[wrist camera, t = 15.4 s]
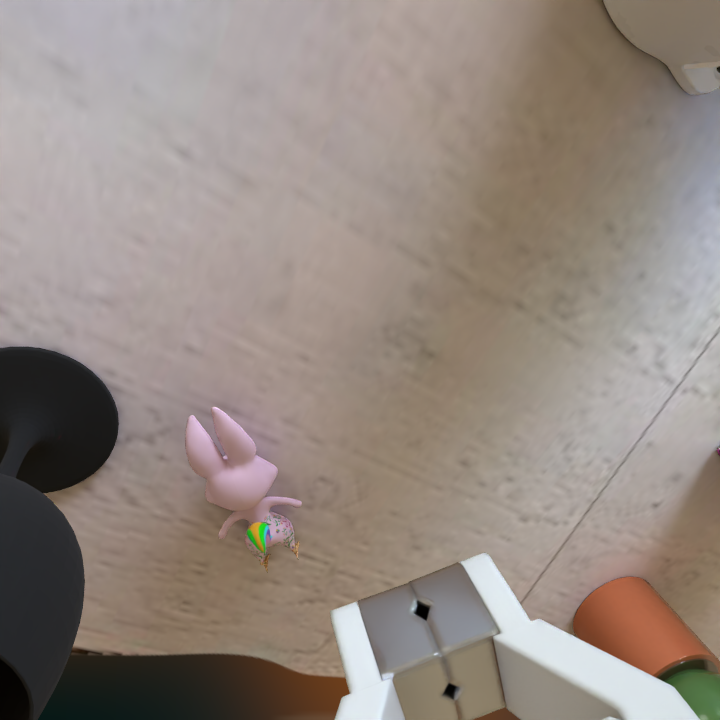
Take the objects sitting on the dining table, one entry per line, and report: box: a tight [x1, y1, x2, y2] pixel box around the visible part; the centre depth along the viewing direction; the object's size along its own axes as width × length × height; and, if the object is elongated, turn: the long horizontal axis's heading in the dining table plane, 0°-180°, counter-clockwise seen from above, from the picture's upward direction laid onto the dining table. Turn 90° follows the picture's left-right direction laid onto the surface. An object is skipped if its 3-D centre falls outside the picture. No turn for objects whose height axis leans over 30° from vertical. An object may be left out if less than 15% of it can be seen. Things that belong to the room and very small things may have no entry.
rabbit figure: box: [185, 407, 302, 573], centre depth 41 cm, size 6×6×15 cm
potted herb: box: [573, 577, 720, 720], centre depth 53 cm, size 9×9×17 cm
